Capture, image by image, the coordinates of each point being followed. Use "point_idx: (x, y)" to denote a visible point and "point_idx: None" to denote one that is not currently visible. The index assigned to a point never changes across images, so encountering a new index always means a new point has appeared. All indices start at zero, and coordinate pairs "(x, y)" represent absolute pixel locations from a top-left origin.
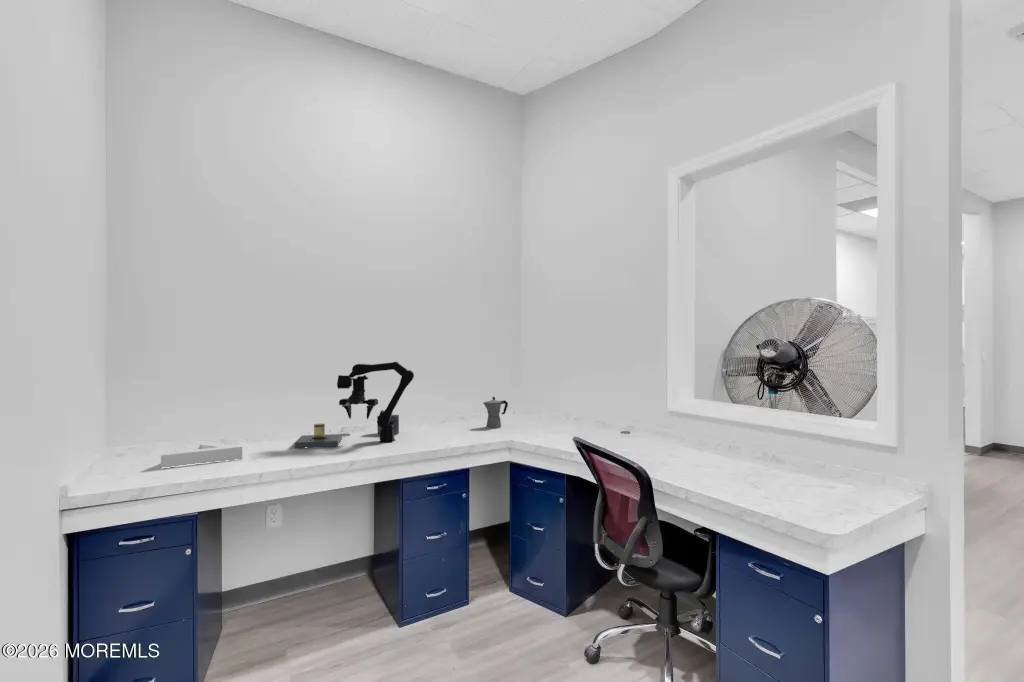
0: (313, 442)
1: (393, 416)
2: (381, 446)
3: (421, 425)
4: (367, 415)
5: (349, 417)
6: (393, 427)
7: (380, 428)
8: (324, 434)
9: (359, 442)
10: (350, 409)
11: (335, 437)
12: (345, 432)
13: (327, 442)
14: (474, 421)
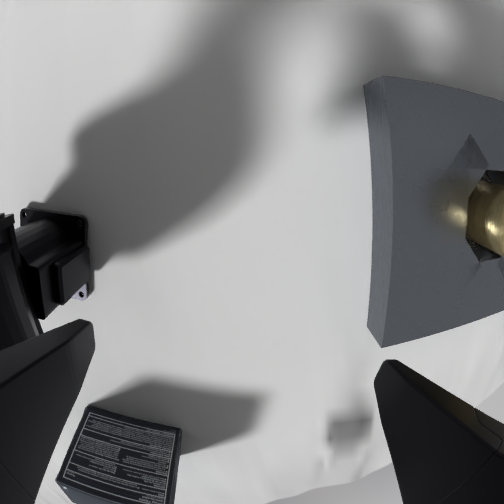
0: (498, 102)
1: (65, 483)
2: (58, 87)
3: None
4: (46, 341)
5: (401, 366)
6: (84, 436)
7: (158, 451)
8: (492, 219)
9: (233, 228)
10: (425, 496)
11: (421, 221)
12: (347, 459)
13: (439, 87)
14: None
